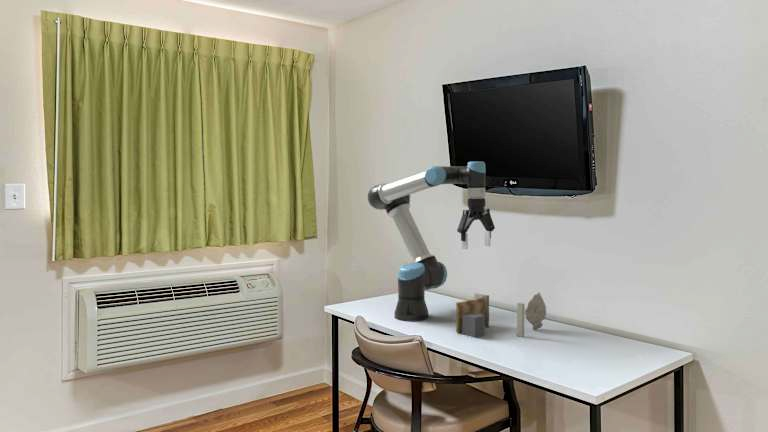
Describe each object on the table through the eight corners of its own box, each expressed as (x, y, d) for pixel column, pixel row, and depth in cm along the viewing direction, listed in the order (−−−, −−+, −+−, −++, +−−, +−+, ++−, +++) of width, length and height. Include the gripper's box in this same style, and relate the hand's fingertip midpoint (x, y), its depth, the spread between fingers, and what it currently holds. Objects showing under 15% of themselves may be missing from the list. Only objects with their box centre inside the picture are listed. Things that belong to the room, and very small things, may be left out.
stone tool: (529, 332, 235) (529, 295, 234) (522, 330, 239) (523, 294, 237) (549, 329, 241) (550, 292, 240) (543, 327, 244) (543, 291, 243)
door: (480, 325, 246) (480, 297, 245) (484, 326, 244) (484, 298, 243) (454, 331, 237) (454, 302, 236) (458, 332, 235) (458, 303, 234)
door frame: (473, 323, 250) (474, 293, 249) (477, 323, 251) (477, 292, 250) (521, 337, 229) (521, 304, 228) (524, 336, 231) (525, 303, 230)
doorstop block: (462, 334, 235) (462, 314, 234) (470, 331, 238) (471, 312, 237) (474, 337, 229) (474, 317, 229) (483, 335, 232) (483, 315, 232)
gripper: (461, 199, 241) (461, 250, 243) (503, 197, 256) (502, 245, 258) (448, 198, 247) (448, 249, 249) (490, 196, 262) (490, 244, 264)
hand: (476, 247), depth 253 cm, fingers open, 13 cm apart
